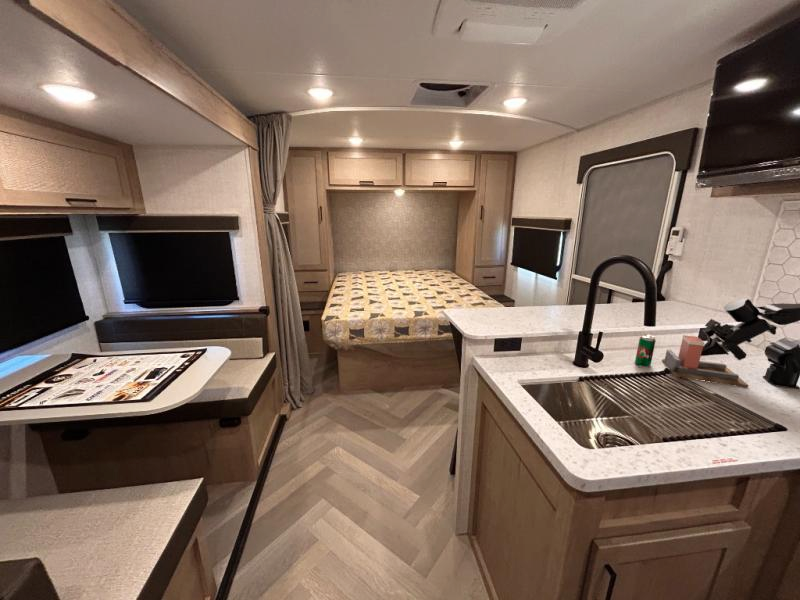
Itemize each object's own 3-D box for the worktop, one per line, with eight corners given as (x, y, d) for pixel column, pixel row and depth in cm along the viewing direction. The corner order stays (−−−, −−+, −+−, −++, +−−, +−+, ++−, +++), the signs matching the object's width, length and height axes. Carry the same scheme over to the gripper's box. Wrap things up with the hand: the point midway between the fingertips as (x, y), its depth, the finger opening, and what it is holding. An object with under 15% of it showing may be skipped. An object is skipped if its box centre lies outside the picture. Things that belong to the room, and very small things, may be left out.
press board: (726, 369, 120) (727, 367, 120) (747, 387, 108) (748, 385, 108) (662, 361, 128) (662, 358, 128) (675, 377, 116) (675, 374, 115)
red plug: (689, 365, 121) (696, 336, 118) (696, 372, 116) (704, 342, 113) (676, 363, 123) (683, 335, 120) (682, 370, 117) (689, 341, 114)
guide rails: (723, 368, 119) (726, 356, 118) (737, 381, 110) (741, 368, 109) (664, 361, 126) (666, 349, 125) (673, 372, 117) (676, 359, 116)
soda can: (645, 361, 128) (650, 334, 125) (653, 367, 123) (659, 339, 120) (631, 361, 128) (637, 333, 125) (639, 366, 124) (645, 338, 120)
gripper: (714, 306, 119) (672, 330, 126) (743, 322, 102) (692, 348, 109) (736, 328, 118) (692, 351, 125) (769, 347, 101) (716, 372, 108)
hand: (697, 354), depth 117 cm, fingers closed, pressing on red plug
